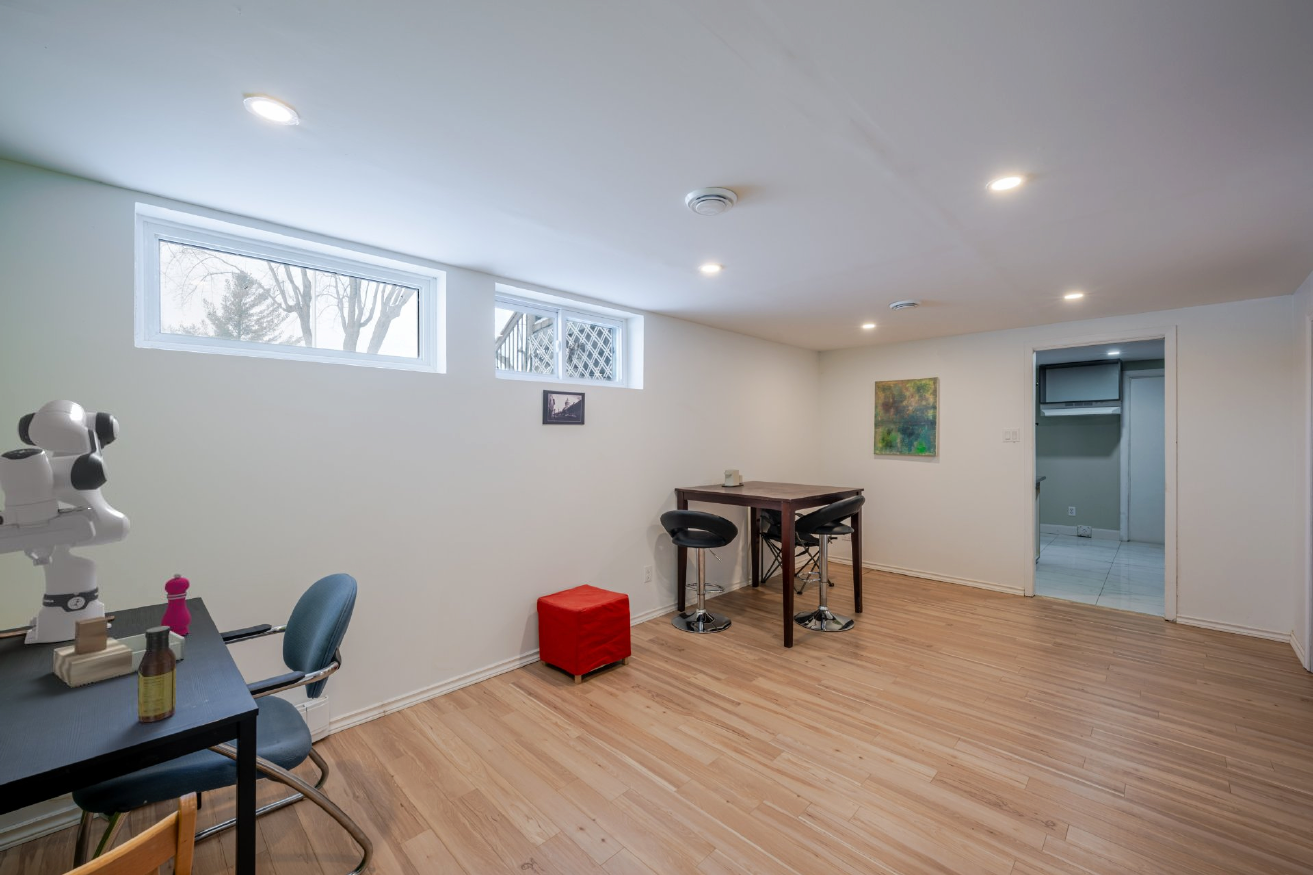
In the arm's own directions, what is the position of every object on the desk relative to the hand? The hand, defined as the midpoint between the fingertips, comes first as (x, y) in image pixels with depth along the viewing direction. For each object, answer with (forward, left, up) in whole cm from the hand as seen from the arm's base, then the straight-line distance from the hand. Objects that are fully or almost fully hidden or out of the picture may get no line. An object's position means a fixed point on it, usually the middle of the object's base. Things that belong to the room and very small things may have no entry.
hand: (43, 564), depth 138 cm
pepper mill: (-13, +31, -30) cm, 45 cm away
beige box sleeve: (+5, +9, -30) cm, 31 cm away
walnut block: (+5, +8, -24) cm, 26 cm away
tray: (+5, +20, -30) cm, 36 cm away
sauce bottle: (+51, +9, -30) cm, 60 cm away
